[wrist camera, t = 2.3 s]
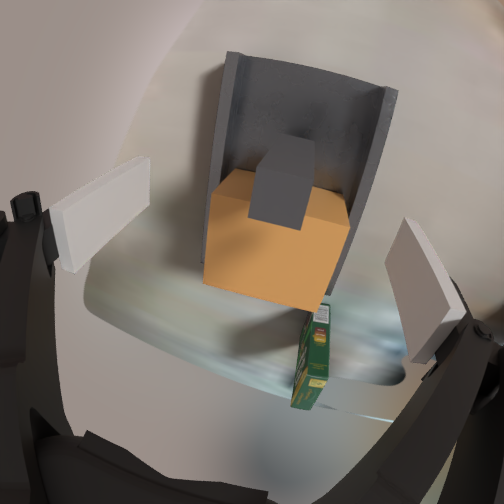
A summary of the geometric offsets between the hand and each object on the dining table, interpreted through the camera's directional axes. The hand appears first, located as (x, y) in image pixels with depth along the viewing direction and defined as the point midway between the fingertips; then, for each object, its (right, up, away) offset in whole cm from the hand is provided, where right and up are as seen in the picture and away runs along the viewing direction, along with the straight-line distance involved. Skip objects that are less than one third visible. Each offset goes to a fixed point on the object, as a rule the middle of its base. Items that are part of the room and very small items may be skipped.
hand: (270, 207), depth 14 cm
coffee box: (+8, -12, +28) cm, 32 cm away
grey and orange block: (+3, +4, +18) cm, 18 cm away
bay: (+3, +6, +17) cm, 19 cm away
